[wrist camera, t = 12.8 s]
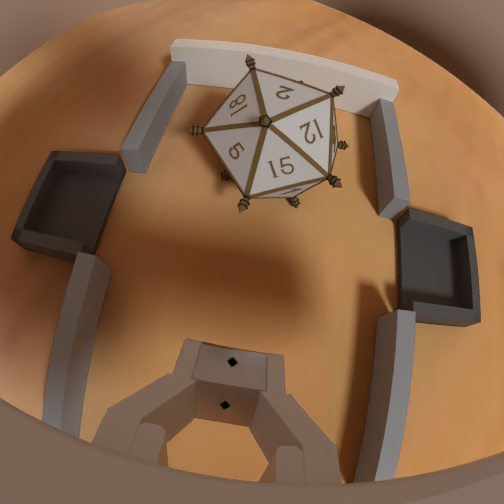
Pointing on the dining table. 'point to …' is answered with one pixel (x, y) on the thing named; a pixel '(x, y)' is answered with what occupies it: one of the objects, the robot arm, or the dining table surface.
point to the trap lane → (138, 159)
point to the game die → (274, 136)
